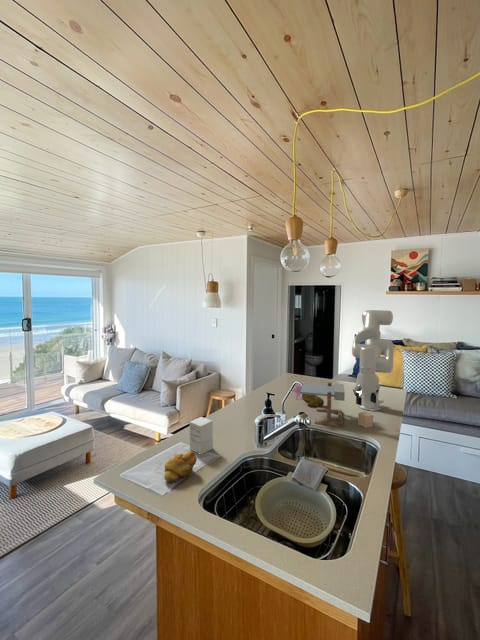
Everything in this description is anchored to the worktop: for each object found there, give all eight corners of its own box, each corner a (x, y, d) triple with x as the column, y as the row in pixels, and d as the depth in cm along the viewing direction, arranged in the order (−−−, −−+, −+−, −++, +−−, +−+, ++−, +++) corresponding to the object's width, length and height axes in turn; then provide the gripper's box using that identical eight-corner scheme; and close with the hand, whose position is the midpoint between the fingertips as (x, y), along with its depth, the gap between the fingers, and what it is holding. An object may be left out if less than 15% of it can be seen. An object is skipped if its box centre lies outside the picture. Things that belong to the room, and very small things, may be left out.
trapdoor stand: (341, 411, 178) (342, 383, 177) (342, 426, 157) (343, 394, 156) (316, 409, 182) (317, 381, 181) (314, 423, 161) (315, 391, 160)
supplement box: (201, 443, 139) (201, 416, 138) (213, 448, 134) (213, 420, 133) (189, 449, 133) (188, 421, 132) (201, 455, 128) (200, 426, 127)
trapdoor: (343, 391, 174) (343, 384, 174) (344, 400, 159) (344, 392, 159) (302, 388, 181) (303, 381, 180) (300, 396, 165) (300, 388, 165)
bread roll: (173, 488, 106) (172, 466, 106) (155, 478, 112) (155, 457, 112) (199, 471, 116) (199, 451, 116) (182, 463, 122) (181, 443, 122)
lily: (287, 398, 204) (289, 388, 199) (294, 388, 213) (296, 378, 207) (304, 407, 199) (307, 396, 194) (310, 395, 208) (313, 385, 203)
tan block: (365, 422, 163) (365, 411, 163) (372, 426, 159) (373, 415, 158) (358, 424, 161) (358, 412, 161) (365, 427, 157) (365, 416, 156)
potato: (319, 409, 182) (319, 396, 181) (299, 404, 190) (300, 391, 190) (325, 405, 188) (325, 393, 188) (306, 401, 196) (306, 388, 196)
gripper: (374, 368, 164) (373, 399, 165) (348, 370, 158) (347, 403, 159) (385, 371, 158) (384, 403, 158) (359, 373, 151) (358, 407, 152)
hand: (366, 403), depth 159 cm, fingers open, 9 cm apart
